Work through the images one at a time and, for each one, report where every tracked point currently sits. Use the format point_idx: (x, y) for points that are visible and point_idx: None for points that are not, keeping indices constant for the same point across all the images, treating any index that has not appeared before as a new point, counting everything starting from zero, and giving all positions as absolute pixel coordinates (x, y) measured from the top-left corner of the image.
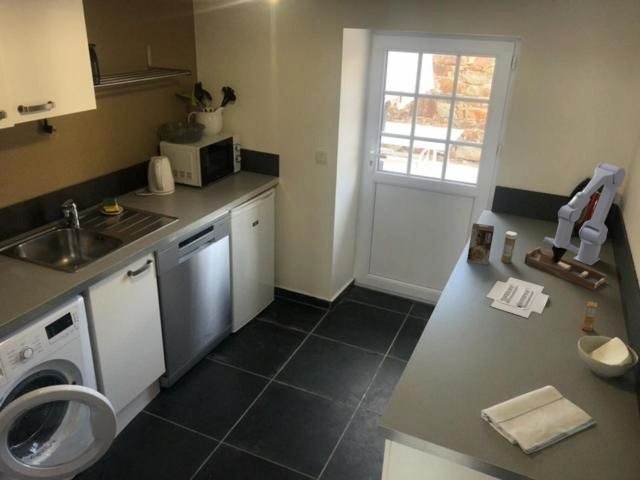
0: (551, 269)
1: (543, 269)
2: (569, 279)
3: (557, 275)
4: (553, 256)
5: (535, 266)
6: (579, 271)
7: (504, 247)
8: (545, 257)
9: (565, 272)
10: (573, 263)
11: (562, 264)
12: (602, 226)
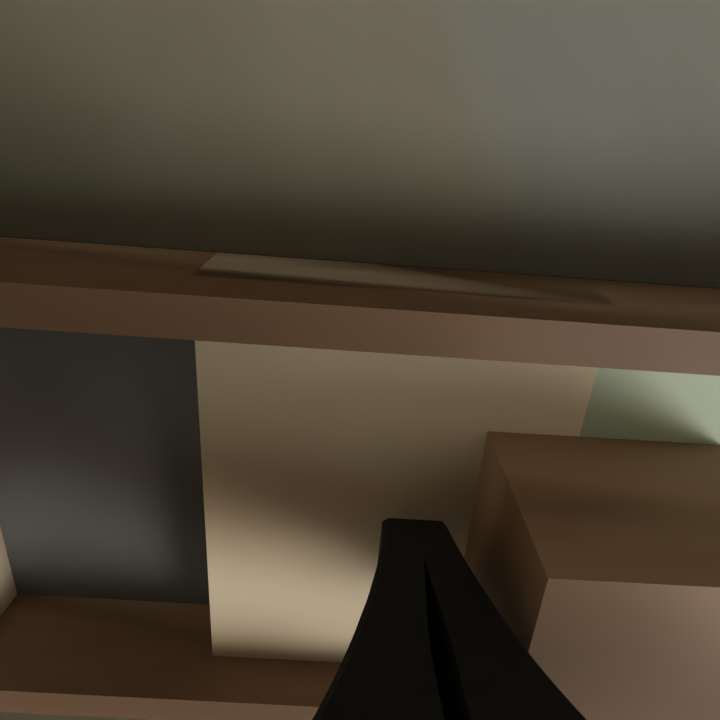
0: (395, 286)
1: (542, 280)
2: (6, 241)
3: (254, 258)
4: (522, 632)
5: (705, 289)
6: (89, 606)
7: None
8: (676, 521)
9: (60, 281)
10: (177, 700)
11: (328, 598)
12: None
